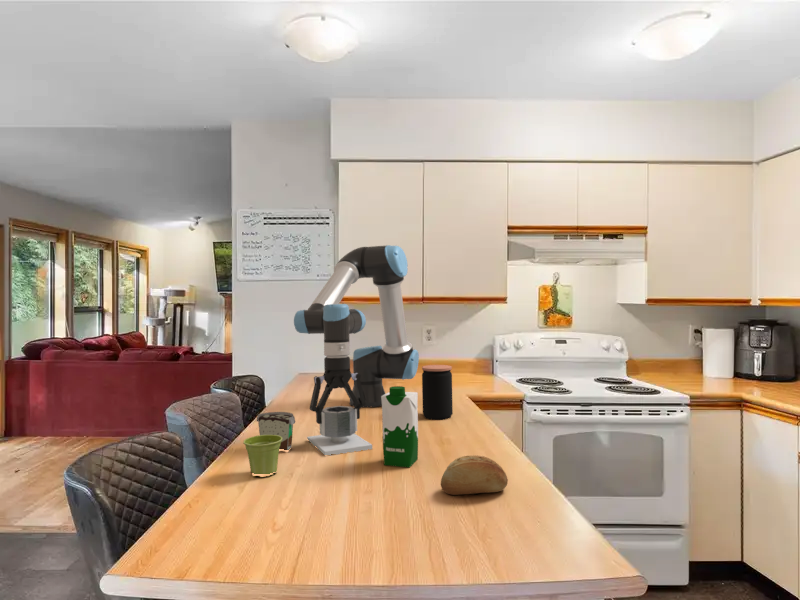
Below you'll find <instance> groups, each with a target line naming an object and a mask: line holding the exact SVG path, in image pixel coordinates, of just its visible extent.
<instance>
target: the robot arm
mask: <svg viewBox="0 0 800 600" xmlns="http://www.w3.org/2000/svg"><path fill="white" fill-rule="evenodd" d="M407 274H408V258H407V256H406V253H405V251H404V249H402V247H401V246H399V245H388V244H386V245H375V246H372V245H371V246H361V247H357V248H354V249H352V250H351V251H349V252H348V253H346V254H345V255H344V256H343V257H341V259H340V260H338V262H337V263H336V264H335V266H334V268H333V273H332V275H331V276H330V277H329V279H328V280H327V282H326V283H325V284H324V286H323V288H322V289H321V290H320V291H319V293H318V295H317V296H316V297H315V299H314V300H313V301H312V303H311V304H310V306H309V307H308V309H302V310H301V309H300V310H298V311H296V312H295V314H294V316H293V326H294V327H295V328H294V329H295V330H296V332H298V333H299V334H308V335H310V334H312V335H314V334H320V335H321V334H322V335H323V353H324V354H323V355H324V356H325V357H324V361H323V362H324V363H323V365H324V366H323V367H324V373H323V374H322V375H321V376H316V375H314V377H313V382H314V385H313V390H312V395H311V401H310V404H309V411H312V412H314V413H315V417H316V418H315V422H316V423H317V424H318V425H319V435H322V436H324V435H325V413H324V412H322V410H323V409H324V408H325V406H326V403H327V401H328V400H329V399H328V398H329V397H330V395H331V393H332V392H333V390H335V389H338V388H339V389H344V391H345V393H346V394H347V396H348V398H349V405H350V407H353V408H354V409H355V431H356V432H358V420H360V418H361V414H360V413H361V412H360V410H361V408H377V407H378V408H379V407H382V399H381V396H383V395H385V394H386V391H385V389H384V385H383V380H384V379H386V380H387V379H388V380H402V381H404V380H411V379H414V377H415V376H416V374H417V372H418V368H419V362H420V355H419V350H417V349H413V344H412V342H410V341H409V339H408V333H407V325H406V318H405V317H406V316H405V308H404V301H403V293H402V287H401V284H402V283H403V282H404V281H405V279H404V277H406V276H407ZM364 278H366V279H371V278H372V283H373V285H374V286H375V287H377V289H378V295H379V303H380V312H381V317H382V318H381V319H382V323H383V324H382V325H383V332H384V339H385V344H384V346H383V347H382V345H372V346H367V347H360V348H356V349H355V350H354V351H353V352H352V354H353V355H352V356H353V358H352V369H353V372H351V358H350V356H349V355H351V354H350V353H351V351H350V350H351V349H350V346H351V345H350V335H352V334H357V333H359V332H361V331H363V329H364V328H365V326H366V322H367V319H366V316H365V314H364V313H363V312H362V311H361V310H359V309H356V308H352V309H351V308H350V307H349V305H348V304H346V303H341V301H342V299H343V298H344V296H345V295H346V293H347V292H348V290H349V288H350V287H351V286H352V285H353V284H355V283H356V282H358V280H360V279H364ZM349 308H350V309H349ZM350 380H352V381H353V387H352V388H351V385H350V383H349V381H350ZM323 381H324V382H326V384H325V386H324V390H323V393H322V394H321V396H320V393H321V387H322V384H323V383H324V382H323ZM319 396H320V399H319Z"/></svg>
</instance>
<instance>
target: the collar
mask: <svg viewBox="0 0 800 600" xmlns="http://www.w3.org/2000/svg"><path fill="white" fill-rule="evenodd" d="M322 412H324V413H325V435H324V436H325V437H337V438H338V437H345V436H351V435H352V434H354V433H355V434H356V432H357V431H355V409H354V407H353V406H351V405H350V406H347V405H346V406H345V405H335V406H328V407H327V406H326V407H324V408H323V410H322Z"/></svg>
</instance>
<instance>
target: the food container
mask: <svg viewBox="0 0 800 600" xmlns="http://www.w3.org/2000/svg"><path fill="white" fill-rule="evenodd" d="M256 422H258V423H257V424H258V431H259V432H258V434H259V436H260V435H278V436H281V437H282V441H281V444H280V447H279V449H284V450H289V449H290V448H291V449H292V446H293V445H292V444H293V443H292V441H293V430H294V429H293V428H294V424H296V418H295V415H294V414H293V413H292V412H286V411H270V412H263V413H258V414H257V417H256Z"/></svg>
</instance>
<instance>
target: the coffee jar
mask: <svg viewBox="0 0 800 600" xmlns="http://www.w3.org/2000/svg"><path fill="white" fill-rule="evenodd" d="M452 369H453V366H451V365H447V364H428V365H423V366H422V367H421V370H422V374H421V385H422V386H421V389H422V397H421V398H422V399H421V400H422V415H423V417H424V418H425V419H426V420H431V419H432V421H435V420H436V421H441V420H442V421H443V419H444V420H447V419H448V418H449V419H451V417H452V416H453V412H454V411H453V409H454V408H453V373H452V371H451V370H452ZM449 419H448V420H449Z"/></svg>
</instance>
